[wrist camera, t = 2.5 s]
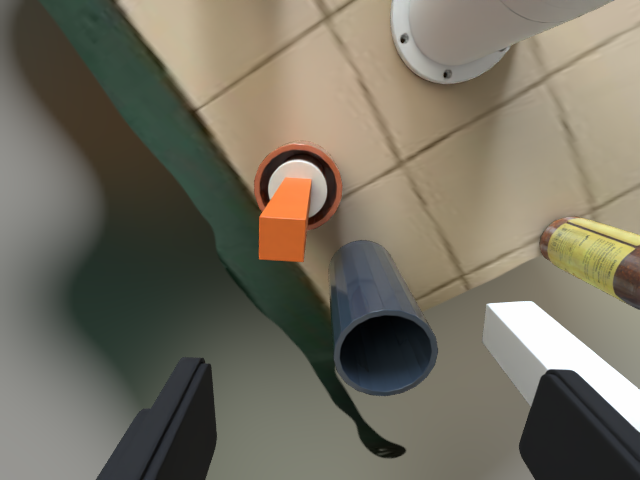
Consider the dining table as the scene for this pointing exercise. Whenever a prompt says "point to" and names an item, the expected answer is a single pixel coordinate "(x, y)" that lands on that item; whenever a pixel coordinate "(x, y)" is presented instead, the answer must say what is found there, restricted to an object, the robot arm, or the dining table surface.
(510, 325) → the milk
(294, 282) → the dining table surface
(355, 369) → the dark blue cylindrical vase
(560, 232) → the sauce bottle
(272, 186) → the brush
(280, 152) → the brush holder
